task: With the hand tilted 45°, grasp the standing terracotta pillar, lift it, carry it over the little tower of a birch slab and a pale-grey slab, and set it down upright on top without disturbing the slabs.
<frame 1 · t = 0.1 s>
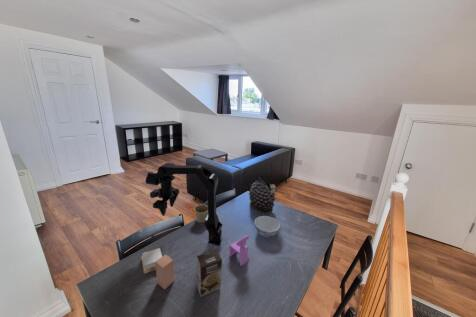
hand: (167, 211, 114), 15 cm above the table, tool pointing down, fingers open, 9 cm apart
flower pot: (201, 220, 132), on the table
toy chair: (238, 258, 104), on the table
pillar: (165, 282, 89), on the table
top slab: (152, 260, 97), point 2 cm above the table, touching bottom slab
coffee box: (208, 287, 88), on the table
bottom slab: (153, 263, 98), on the table, touching top slab
dark pinecone ornament: (260, 209, 148), on the table
chinaware: (265, 234, 123), on the table
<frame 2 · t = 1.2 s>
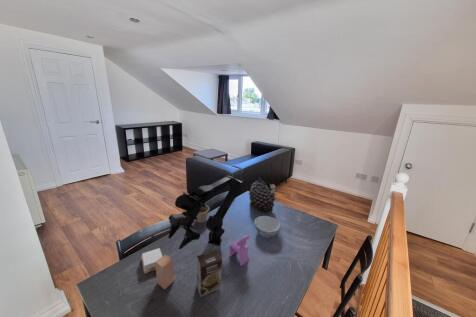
hand: (174, 243, 93), 13 cm above the table, tool tilted 40°, fingers open, 9 cm apart
nothing on the table moved.
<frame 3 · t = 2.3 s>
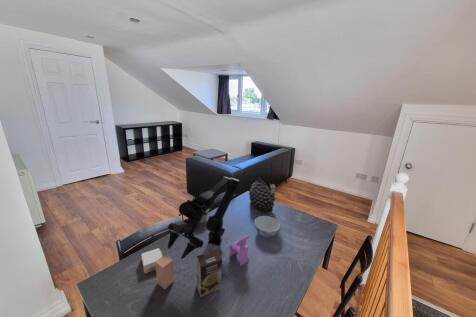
hand: (174, 253, 89), 12 cm above the table, tool tilted 45°, fingers open, 9 cm apart
nothing on the table moved.
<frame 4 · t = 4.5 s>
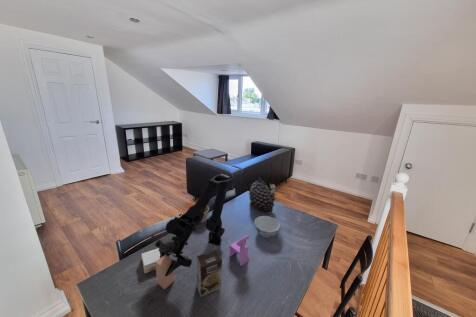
hand: (162, 272, 85), 7 cm above the table, tool tilted 45°, fingers closed on pillar, 5 cm apart
pillar: (165, 282, 89), on the table, touching gripper
top slab: (152, 260, 97), point 2 cm above the table
bottom slab: (153, 263, 98), on the table
everything else where it was.
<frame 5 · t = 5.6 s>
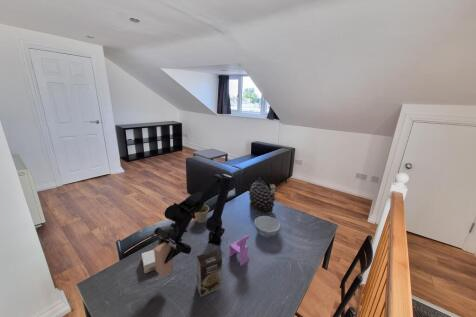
hand: (160, 260, 83), 13 cm above the table, tool tilted 45°, fingers closed on pillar, 5 cm apart
pillar: (164, 270, 87), point 7 cm above the table, touching gripper
everything else where it was.
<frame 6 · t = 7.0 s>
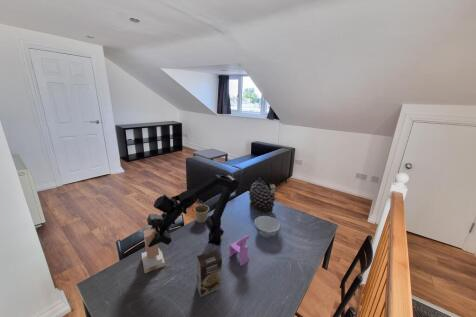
hand: (148, 242, 93), 13 cm above the table, tool tilted 45°, fingers closed on pillar, 5 cm apart
pillar: (152, 253, 96), point 6 cm above the table, touching gripper
top slab: (152, 260, 97), point 2 cm above the table, touching bottom slab
bottom slab: (153, 263, 98), on the table, touching top slab
everything else where it was.
when the fingers open (12 cm above the table, at t = 7.3 s): pillar drops 1 cm, resting on top slab.
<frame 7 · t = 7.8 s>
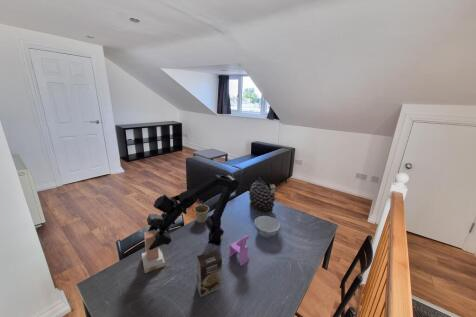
hand: (147, 242, 93), 13 cm above the table, tool tilted 45°, fingers open, 9 cm apart
pillar: (152, 255, 96), point 5 cm above the table, touching top slab
top slab: (152, 260, 97), point 2 cm above the table, touching pillar
bottom slab: (153, 263, 98), on the table
everything else where it was.
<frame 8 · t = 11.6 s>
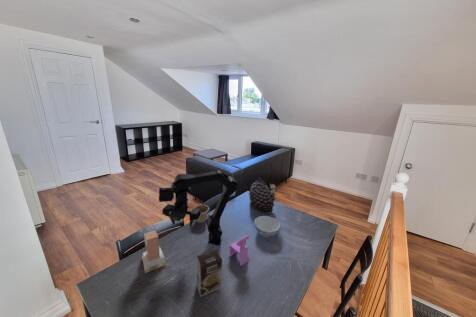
hand: (182, 225, 105), 13 cm above the table, tool pointing down, fingers open, 9 cm apart
top slab: (153, 259, 98), point 2 cm above the table, touching bottom slab, pillar
bottom slab: (153, 263, 98), on the table, touching top slab
everything else where it was.
at the end: pillar 0.2 cm off-centre on the top slab, point 2.8 cm above the top slab's base; pillar tilted 6°; top slab moved 1.0 cm from its start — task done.
